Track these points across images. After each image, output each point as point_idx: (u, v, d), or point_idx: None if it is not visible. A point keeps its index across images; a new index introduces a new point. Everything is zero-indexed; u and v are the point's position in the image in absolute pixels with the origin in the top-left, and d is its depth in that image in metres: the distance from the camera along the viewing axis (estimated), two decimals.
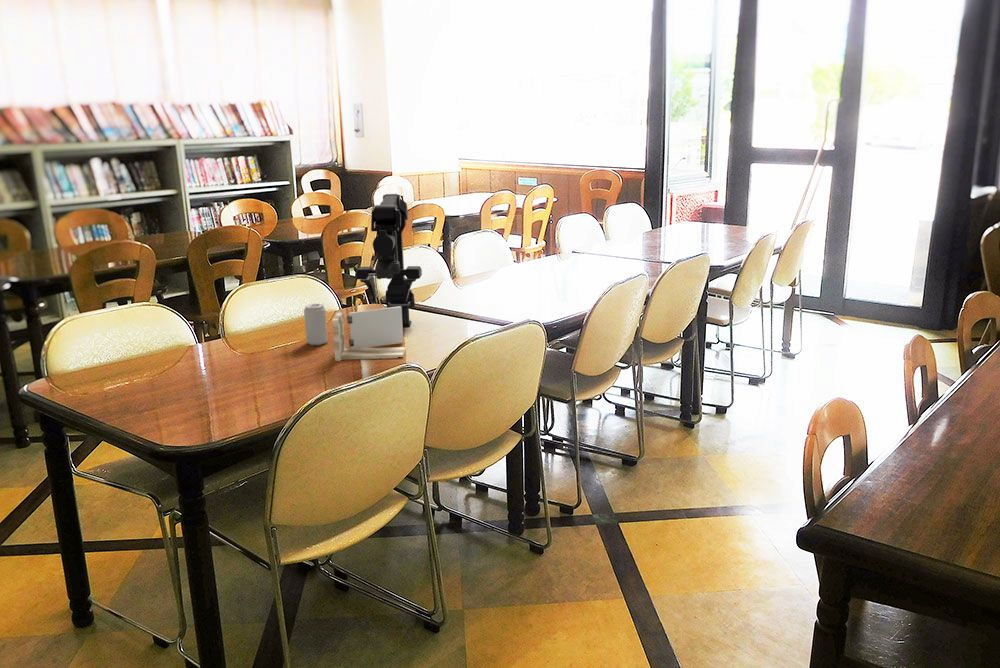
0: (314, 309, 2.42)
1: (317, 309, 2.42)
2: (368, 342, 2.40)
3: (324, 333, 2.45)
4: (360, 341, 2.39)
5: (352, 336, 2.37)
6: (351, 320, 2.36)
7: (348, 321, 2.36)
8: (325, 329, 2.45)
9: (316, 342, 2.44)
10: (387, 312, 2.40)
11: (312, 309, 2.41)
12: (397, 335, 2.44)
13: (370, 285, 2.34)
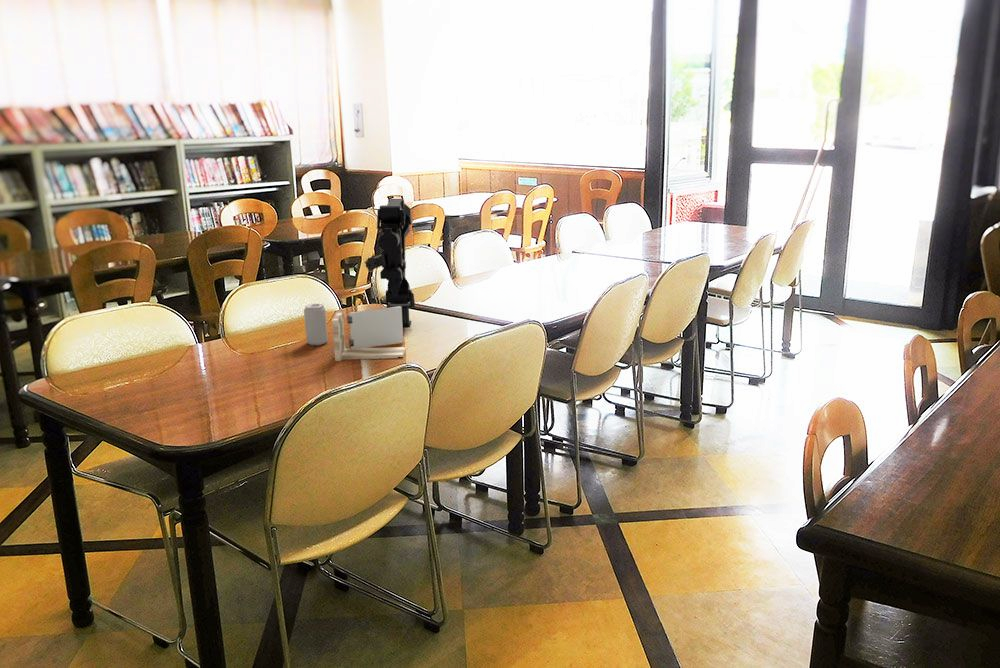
0: (314, 309, 2.42)
1: (317, 309, 2.42)
2: (368, 342, 2.40)
3: (324, 333, 2.45)
4: (360, 341, 2.39)
5: (352, 336, 2.37)
6: (351, 320, 2.36)
7: (348, 321, 2.36)
8: (325, 329, 2.45)
9: (316, 342, 2.44)
10: (387, 312, 2.40)
11: (312, 309, 2.41)
12: (397, 335, 2.44)
13: None
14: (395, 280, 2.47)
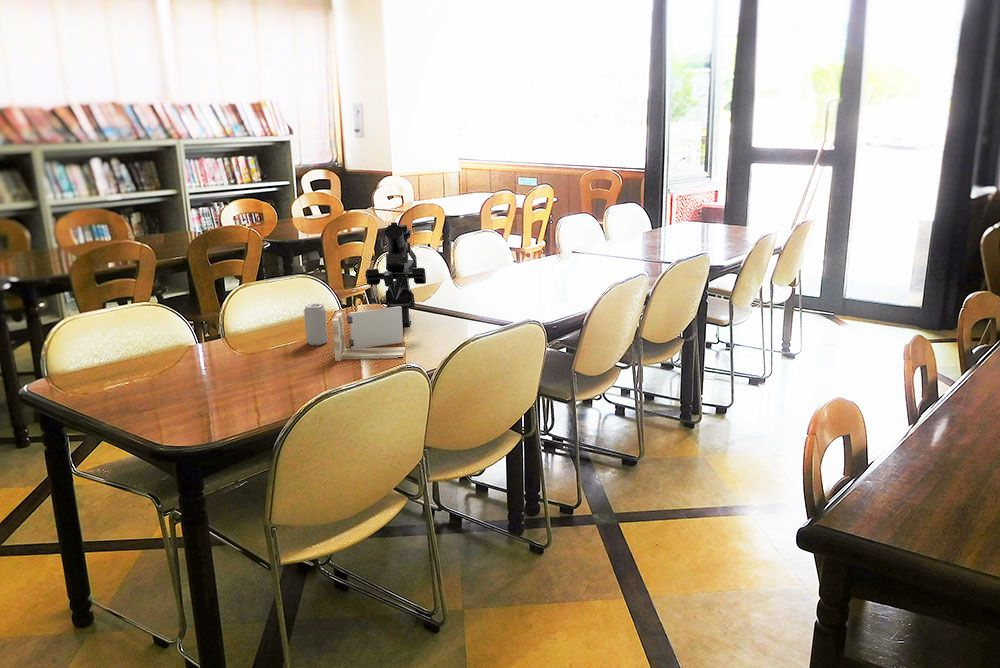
0: (314, 309, 2.42)
1: (317, 309, 2.42)
2: (368, 342, 2.40)
3: (324, 333, 2.45)
4: (360, 341, 2.39)
5: (352, 336, 2.37)
6: (351, 320, 2.36)
7: (348, 321, 2.36)
8: (325, 329, 2.45)
9: (316, 342, 2.44)
10: (387, 312, 2.40)
11: (312, 309, 2.41)
12: (397, 335, 2.44)
13: (392, 282, 2.52)
14: (400, 285, 2.54)
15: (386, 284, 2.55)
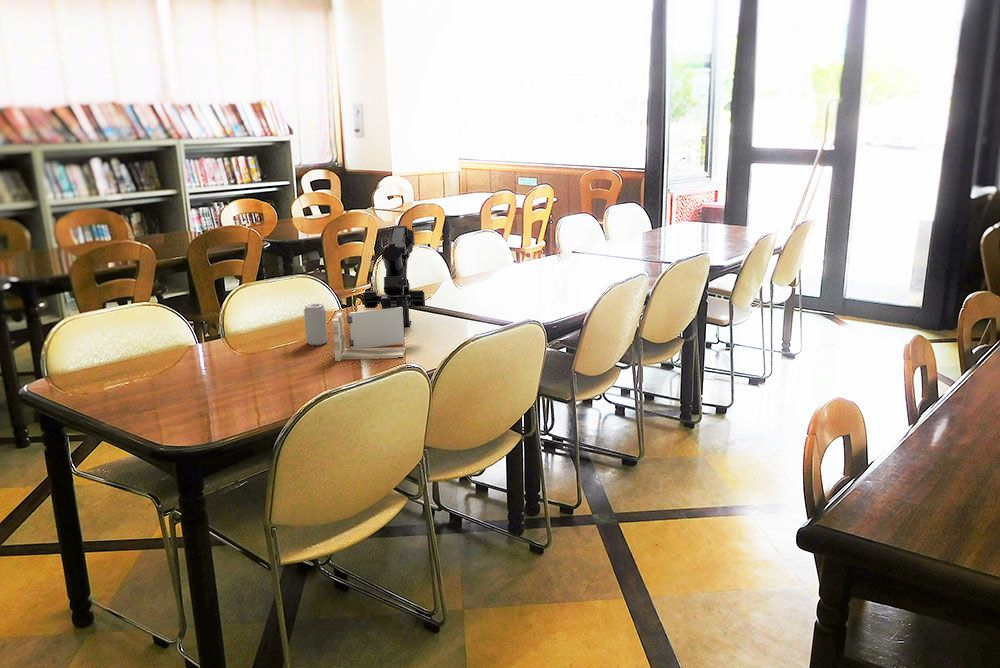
0: (314, 309, 2.42)
1: (317, 309, 2.42)
2: (368, 342, 2.40)
3: (324, 333, 2.45)
4: (360, 342, 2.39)
5: (352, 336, 2.37)
6: (351, 320, 2.36)
7: (348, 321, 2.36)
8: (325, 329, 2.45)
9: (316, 342, 2.44)
10: (388, 313, 2.40)
11: (312, 309, 2.41)
12: (398, 336, 2.43)
13: (389, 305, 2.44)
14: None
15: (383, 308, 2.48)
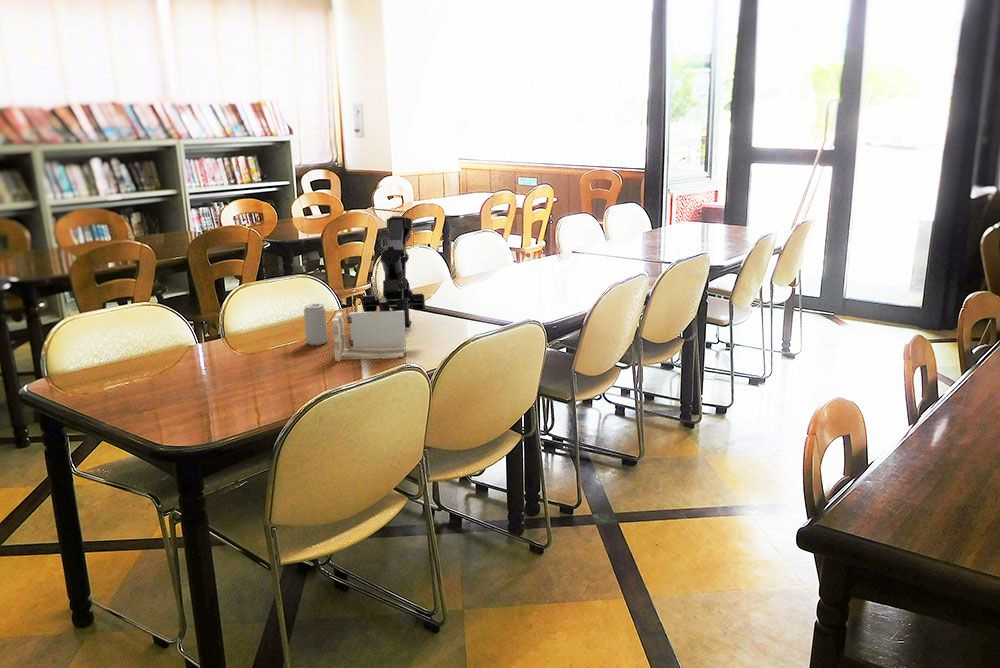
0: (314, 309, 2.42)
1: (317, 309, 2.42)
2: (368, 344, 2.38)
3: (324, 333, 2.45)
4: (360, 342, 2.38)
5: (351, 336, 2.37)
6: (350, 320, 2.36)
7: (347, 321, 2.36)
8: (325, 329, 2.45)
9: (316, 342, 2.44)
10: (388, 315, 2.36)
11: (312, 309, 2.41)
12: (399, 340, 2.38)
13: (388, 309, 2.40)
14: None
15: None
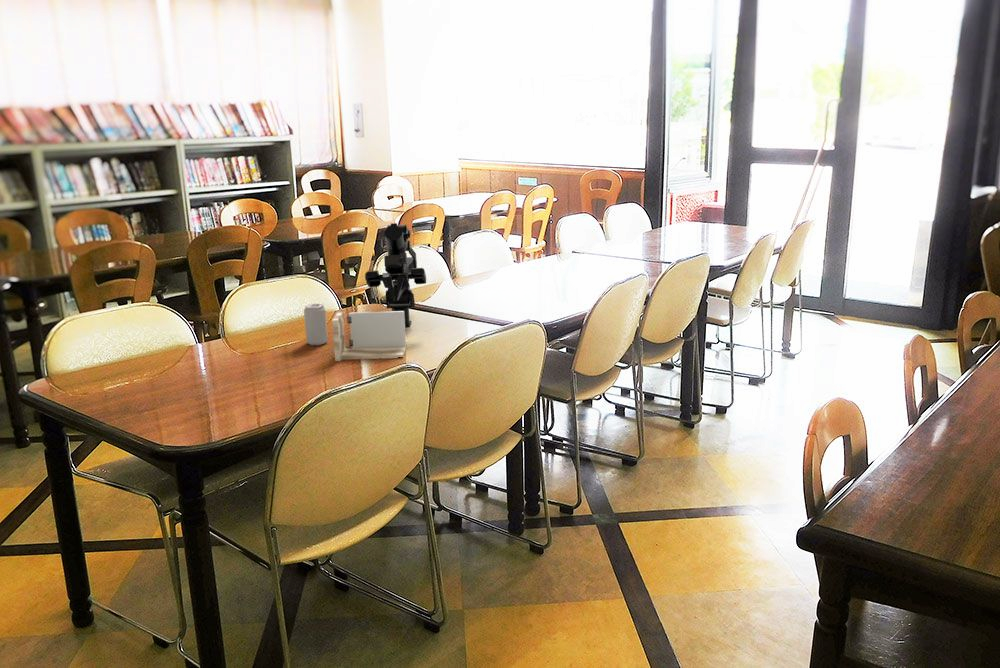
0: (314, 309, 2.42)
1: (317, 309, 2.42)
2: (368, 344, 2.38)
3: (324, 333, 2.45)
4: (360, 342, 2.38)
5: (351, 336, 2.37)
6: (350, 320, 2.36)
7: (347, 321, 2.36)
8: (325, 329, 2.45)
9: (316, 342, 2.44)
10: (388, 316, 2.36)
11: (312, 309, 2.41)
12: (399, 340, 2.38)
13: (390, 283, 2.51)
14: (401, 286, 2.53)
15: (385, 286, 2.55)
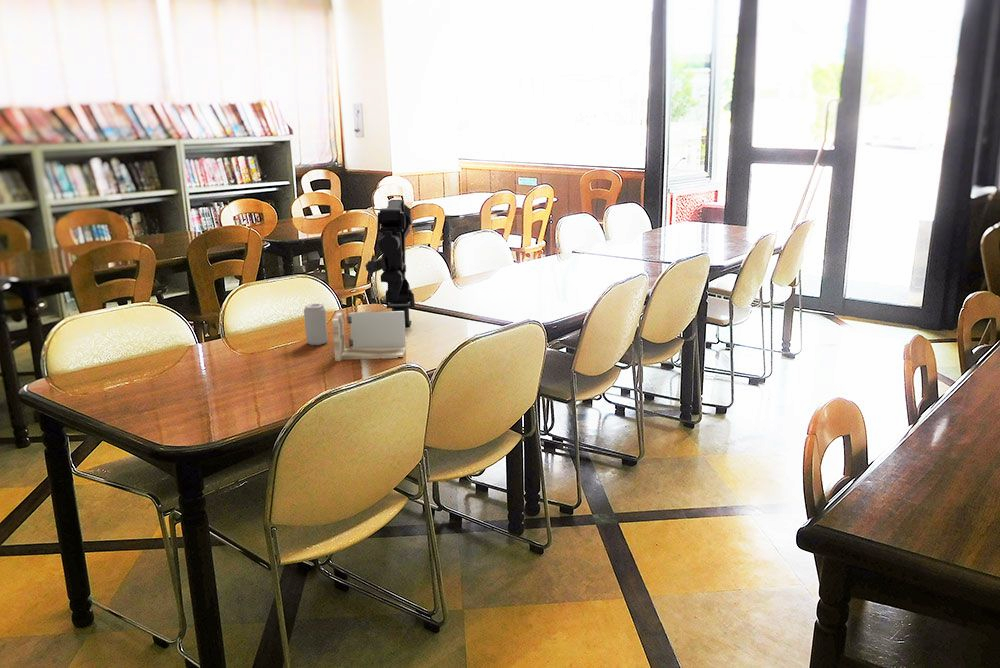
0: (314, 309, 2.42)
1: (317, 309, 2.42)
2: (368, 344, 2.38)
3: (324, 333, 2.45)
4: (360, 342, 2.38)
5: (351, 336, 2.37)
6: (350, 320, 2.36)
7: (347, 321, 2.36)
8: (325, 329, 2.45)
9: (316, 342, 2.44)
10: (388, 316, 2.36)
11: (312, 309, 2.41)
12: (399, 340, 2.38)
13: None
14: (395, 283, 2.47)
15: None
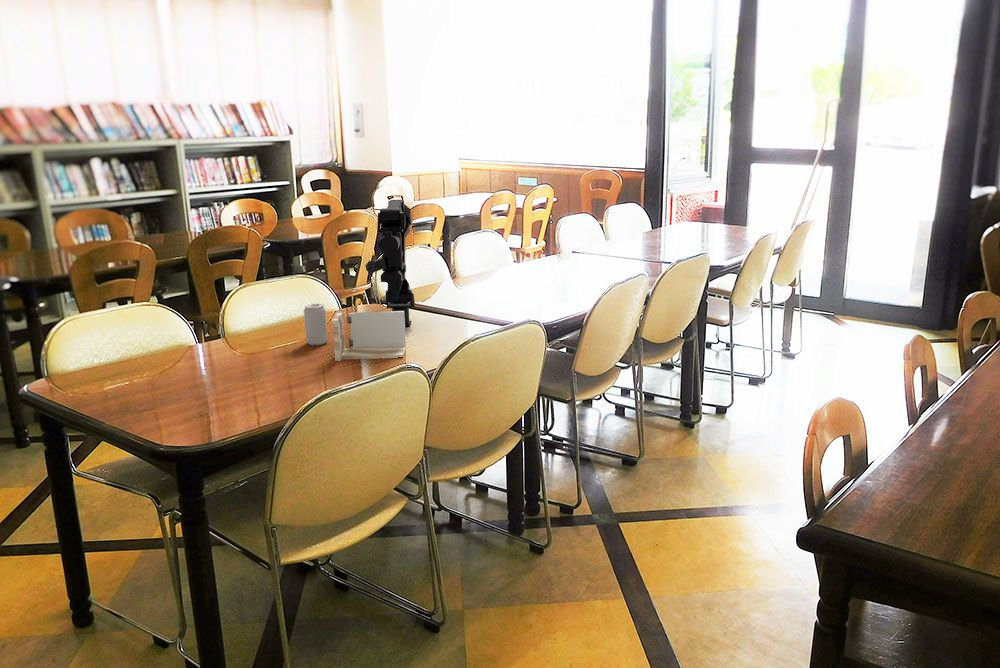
0: (314, 309, 2.42)
1: (317, 309, 2.42)
2: (368, 344, 2.38)
3: (324, 333, 2.45)
4: (360, 342, 2.38)
5: (351, 336, 2.37)
6: (350, 320, 2.36)
7: (347, 321, 2.36)
8: (325, 329, 2.45)
9: (316, 342, 2.44)
10: (388, 316, 2.36)
11: (312, 309, 2.41)
12: (399, 340, 2.38)
13: None
14: (395, 283, 2.47)
15: None
